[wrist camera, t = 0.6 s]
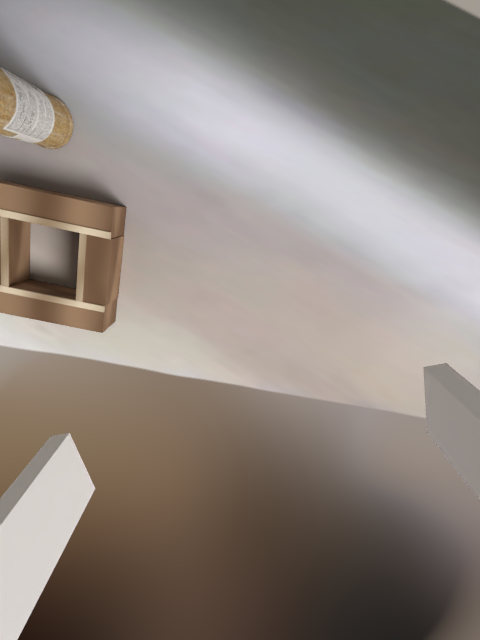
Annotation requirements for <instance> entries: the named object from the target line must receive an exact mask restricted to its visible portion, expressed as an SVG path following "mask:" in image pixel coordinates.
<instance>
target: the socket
mask: <svg viewBox="0 0 480 640" xmlns="http://www.w3.org/2000/svg"><path fill="white" fill-rule="evenodd" d="M125 216H126V207H124V206H119V205H115V204H110V203H105V202H101V201H96V200H91V199H87V198H82V197H78V196H73V195H68V194H64V193H59V192H54V191H50V190H45V189H40V188H36V187H31V186H27V185H22V184H17V183H13V182H8V181H3V180H0V313H5V314H10V315H15V316H20V317H26V318H31V319H36V320H41V321H46V322H51V323H56V324H61V325H66V326H71V327H76V328H81V329H86V330H91V331H96V332H101V333H103V332H104V331H105V330H106V329H107V328H108V327H109V326H111V325H112V324H113V323H114V322H115V317H116V307H117V298H118V293H119V283H120V273H121V263H122V253H123V243H124V236H122V235H124V226H125ZM30 223H35V224H40V225H44V226H49V227H54V228H59V229H63V230H68V231H73V232H78V233H80V235H79V252H78V269H77V286H76V289H73V288H68V287H63V286H58V285H53V284H48V283H43V282H38V281H34V280H29V279H30Z"/></svg>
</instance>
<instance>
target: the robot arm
mask: <svg viewBox="0 0 480 640" xmlns="http://www.w3.org/2000/svg"><path fill="white" fill-rule="evenodd" d="M424 385H425V403H426V421H427V433H428V434H429V435H430V437H431V438H432V439H433V441H434V442H435V443H436V445H437V446H438V447H439V448H440V450H441V451H442V452H443V454H444V455H445V456H446V457H447V459H448V460H449V461H450V463H451V464H452V465H453V467H454V468H455V469H456V471H457V472H458V473H459V474H460V476H461V477H462V478H463V480H464V481H465V482H466V484H467V485H468V486H469V487H470V489H471V490H472V491H473V493H474V494H475V495H476V497H477V498H478V499H479V500H480V391H479V390H478V389H477V388H476V387H474V386H473V385H472V384H471V383H470V382H468V381H467V380H466V379H465V378H464V377H462V376H461V375H460V374H459V373H458V372H456V371H455V370H454V369H453V368H452V367H450V366H449V365H448V364H447V363H444V364H439V365H433V366H428V367H424ZM94 490H95V487H94V485H93V483H92V481H91V479H90V476H89V474H88V472H87V470H86V468H85V466H84V463H83V461H82V459H81V457H80V455H79V453H78V451H77V448H76V446H75V444H74V442H73V440H72V438H71V435H70V433H67V434H61V435H56V436H51V437H50V438H49V439H48V441H47V442H46V443H45V444H44V445H43V447H42V448H41V449H40V450H39V451H38V453H37V454H36V455H35V456H34V458H33V459H32V460H31V461H30V463H29V464H28V465H27V466H26V467H25V469H24V470H23V471H22V472H21V474H20V475H19V476H18V477H17V479H16V480H15V481H14V482H13V483H12V485H11V486H10V487H9V488H8V490H7V491H6V492H5V493H4V495H3V496H2V497H1V498H0V640H17V639H18V637H19V635H20V633H21V631H22V630H23V628H24V626H25V624H26V622H27V620H28V618H29V616H30V614H31V612H32V610H33V608H34V606H35V604H36V602H37V600H38V598H39V596H40V595H41V593H42V591H43V589H44V587H45V585H46V583H47V581H48V579H49V577H50V575H51V573H52V571H53V569H54V567H55V565H56V564H57V561H58V560H59V558H60V556H61V554H62V552H63V550H64V548H65V546H66V544H67V542H68V540H69V538H70V536H71V535H72V533H73V531H74V529H75V527H76V525H77V523H78V521H79V519H80V517H81V515H82V513H83V511H84V509H85V507H86V505H87V504H88V501H89V500H90V498H91V496H92V494H93V492H94Z"/></svg>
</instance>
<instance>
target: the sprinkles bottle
mask: <svg viewBox="0 0 480 640" xmlns="http://www.w3.org/2000/svg"><path fill="white" fill-rule="evenodd" d="M72 131H73V121H72V117H71V114H70V112H69V110H68V108H67V107H66V105H65V104H64V103H63V102H62V101H60V100H59V99H58V98H56V97H55V96H53V95H50V94H46V93H44V92H42V91H41V90H40V89H39V88H37V87H36V86H34V85H32V84H30V83H29V82H27V81H25V80H23V79H21V78H19V77H18V76H16V75H14V74H12V73H10V72H9V71H7V70H5V69H3V68H1V67H0V134H1V135H3V136H6V137H10V138H13V139H17V140H20V141H24V142H28V143H34V144H37V145H39V146H41V147H44V148H47V149H57V148H59V147H62V146H63V145H65V144H66V143H67V142H68V141H69V139H70V137H71V135H72Z"/></svg>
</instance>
